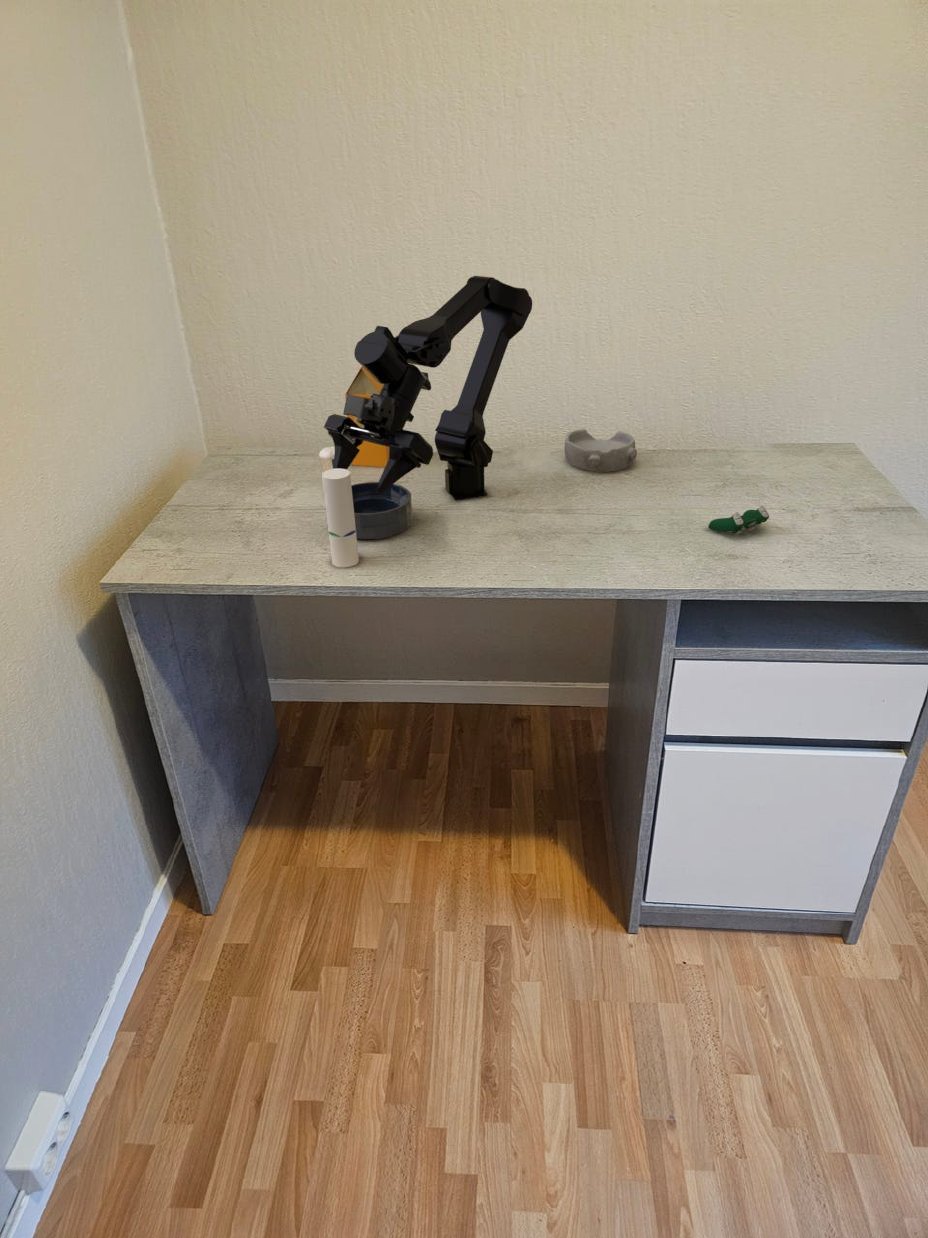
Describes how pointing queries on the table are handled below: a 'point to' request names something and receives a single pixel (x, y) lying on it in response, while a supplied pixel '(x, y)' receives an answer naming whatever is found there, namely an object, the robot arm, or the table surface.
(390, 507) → the bowl
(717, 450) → the table surface
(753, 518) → the green elongated piece
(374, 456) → the orange juice
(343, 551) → the tube
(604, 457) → the dish
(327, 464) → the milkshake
